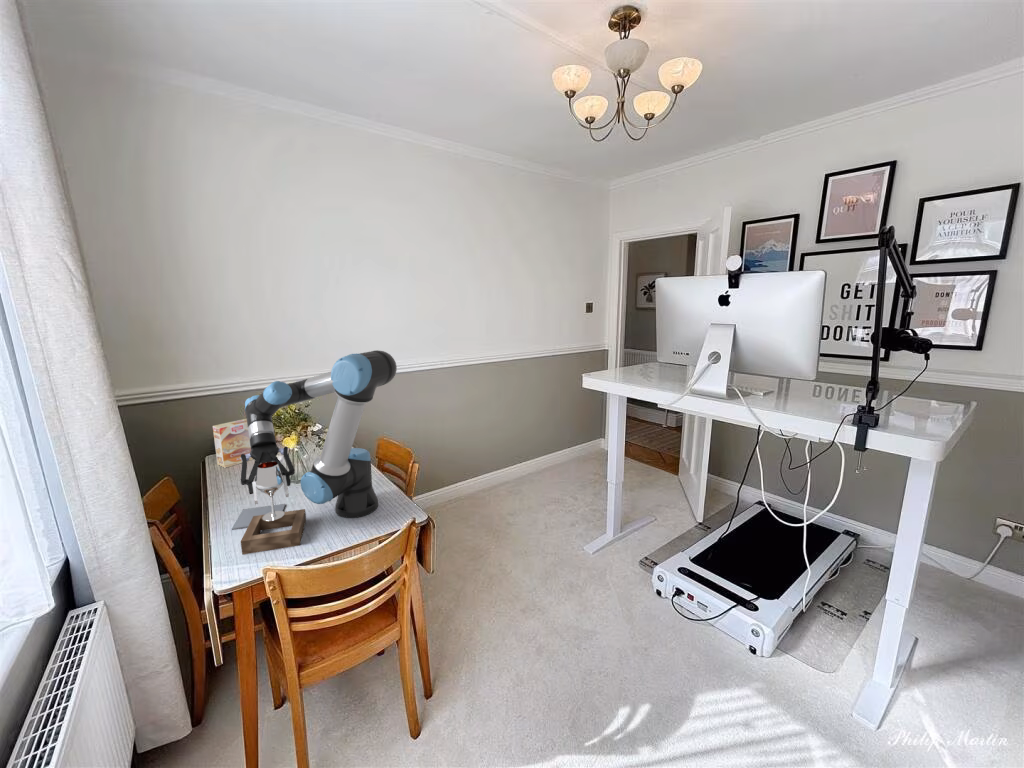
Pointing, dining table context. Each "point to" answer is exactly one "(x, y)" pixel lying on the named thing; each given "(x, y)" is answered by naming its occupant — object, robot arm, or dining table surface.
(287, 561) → the dining table surface
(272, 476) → the wineglass
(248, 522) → the mat
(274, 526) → the frame
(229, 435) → the coffeecake box
